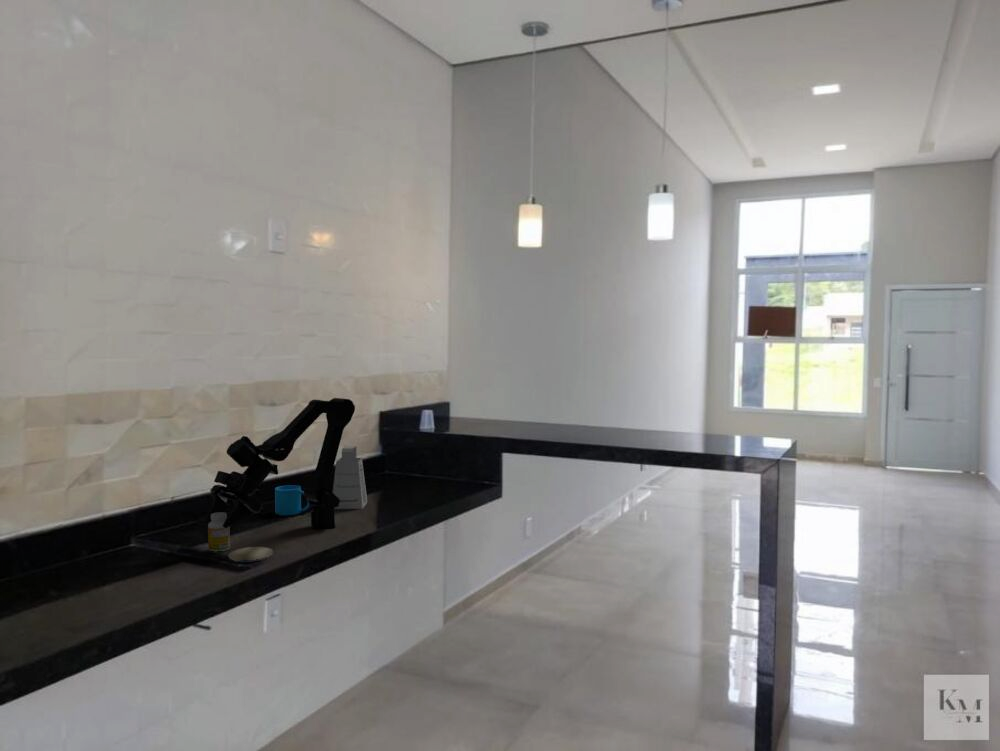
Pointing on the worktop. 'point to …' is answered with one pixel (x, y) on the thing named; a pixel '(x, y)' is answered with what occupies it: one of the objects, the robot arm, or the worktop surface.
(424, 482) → the worktop surface
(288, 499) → the mug
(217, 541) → the supplement bottle
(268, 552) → the oak coaster
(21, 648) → the worktop surface
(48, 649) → the worktop surface
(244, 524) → the worktop surface
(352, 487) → the grater
